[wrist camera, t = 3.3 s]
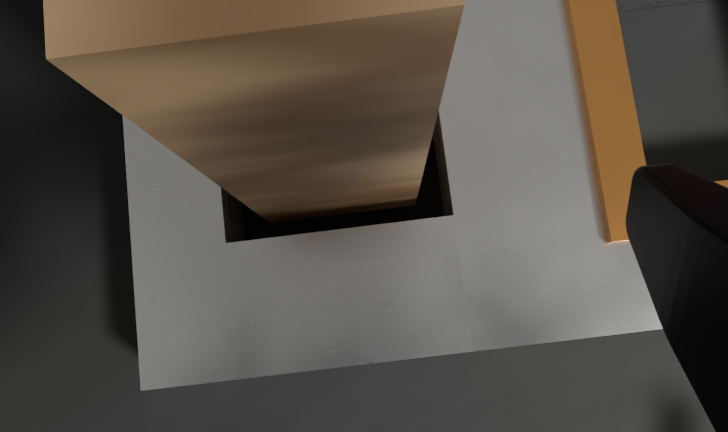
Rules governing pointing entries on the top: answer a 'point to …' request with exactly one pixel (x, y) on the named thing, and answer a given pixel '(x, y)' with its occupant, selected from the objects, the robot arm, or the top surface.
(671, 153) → the top surface
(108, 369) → the top surface
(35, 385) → the top surface
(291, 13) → the peg
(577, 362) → the top surface
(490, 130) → the grey peg hole board
